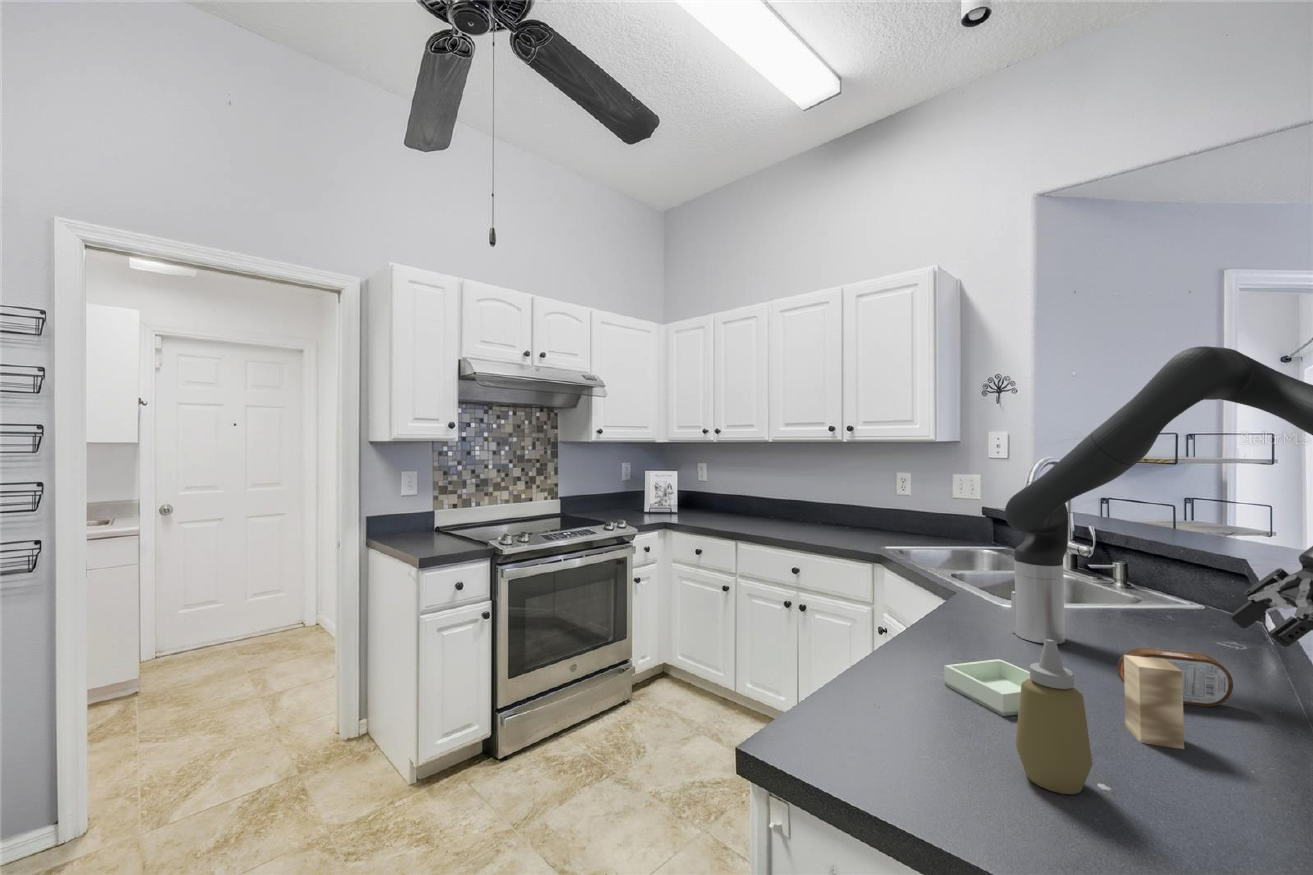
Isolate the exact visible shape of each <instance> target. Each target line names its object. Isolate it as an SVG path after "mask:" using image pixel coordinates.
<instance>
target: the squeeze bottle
mask: <svg viewBox="0 0 1313 875" xmlns="http://www.w3.org/2000/svg"><path fill="white" fill-rule="evenodd" d="M1029 672H1030V679H1027V680H1025V681H1024V682H1022V684H1021V694H1020V704H1019V713H1018V714H1017V715H1018V716H1017V725H1016V734H1015V735H1016V736H1015V747H1016V750H1017V753H1018V756H1019V759H1020V761H1021V764H1022V766H1023V770H1024V772H1025V776H1026V777H1027V778H1028V779H1029V780H1030V781H1031V782H1032V783H1034V784H1035V785H1037V786H1039V787H1041V788H1043V789H1046V790H1048V791H1050V792H1055V793H1058V794H1064V795H1075V794H1079V793H1081V791H1082V789H1083V788H1084V785H1085V784H1086V781H1087V778H1088V776H1089V774H1090V772H1091V769H1092V767H1093V764H1094V763H1093V756H1092V751H1091V743H1090V736H1089V728H1088V723H1087V721H1088V720H1087V714H1086V709H1085V708H1086V707H1085V701H1084V695H1083V693H1081V692H1080V691H1079V690H1078V689H1077V688H1075V687H1074V686H1075V679H1074V678H1075V676H1074V673H1073V671H1072V670H1070V669H1069V668H1066V667H1064V666H1063V662H1062V659H1061V655H1060V652H1059V647H1058V644H1057V643H1056V641H1054V640H1050V639H1046V640H1045V642H1044V643H1043V647H1042V651H1041V656H1040V659H1039V662H1033V663H1031V664H1030V665H1029Z"/></svg>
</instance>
